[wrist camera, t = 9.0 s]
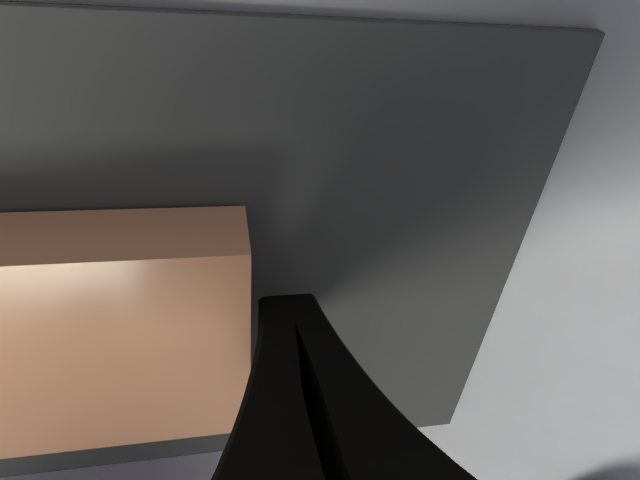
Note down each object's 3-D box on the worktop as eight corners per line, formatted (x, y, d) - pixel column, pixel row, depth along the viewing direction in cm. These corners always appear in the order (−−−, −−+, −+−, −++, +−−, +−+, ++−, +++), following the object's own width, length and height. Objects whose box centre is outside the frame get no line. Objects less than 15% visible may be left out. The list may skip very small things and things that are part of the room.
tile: (251, 254, 10) (-158, 273, 9) (250, 430, 14) (-43, 463, 12) (244, 201, 12) (-106, 211, 10) (245, 372, 15) (-16, 396, 14)
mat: (597, 29, 11) (605, 32, 11) (446, 416, 19) (449, 423, 19) (-475, -22, 7) (-497, -18, 7) (-97, 480, 16) (-102, 489, 16)
